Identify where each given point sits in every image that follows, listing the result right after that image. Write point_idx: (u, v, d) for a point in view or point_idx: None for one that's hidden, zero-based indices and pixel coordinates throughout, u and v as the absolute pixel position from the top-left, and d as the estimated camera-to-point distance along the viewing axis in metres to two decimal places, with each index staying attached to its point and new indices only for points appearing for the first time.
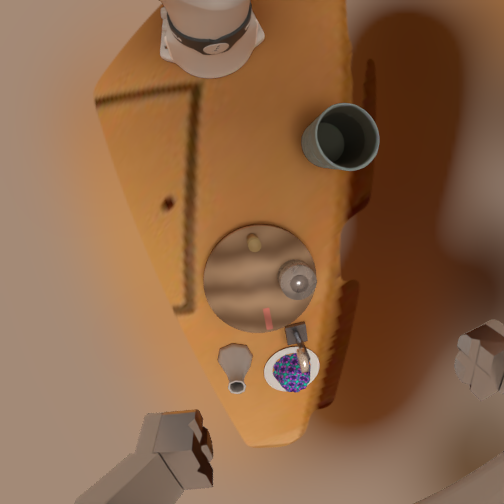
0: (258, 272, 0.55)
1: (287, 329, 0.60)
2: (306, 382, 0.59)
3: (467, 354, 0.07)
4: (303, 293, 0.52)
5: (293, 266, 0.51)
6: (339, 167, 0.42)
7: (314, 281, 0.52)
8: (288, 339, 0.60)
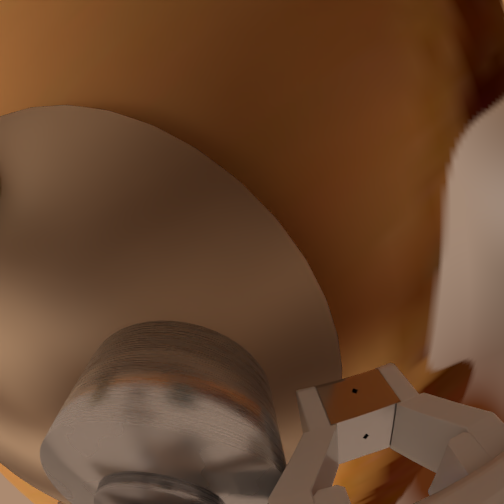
0: (36, 362, 0.08)
1: None
2: None
3: None
4: None
5: (89, 409, 0.05)
6: None
7: None
8: None
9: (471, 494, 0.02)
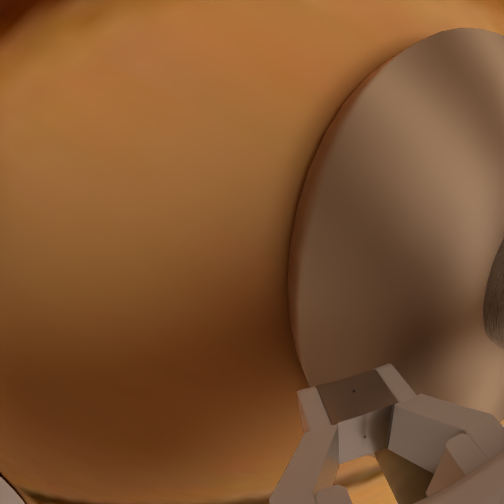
0: None
1: None
2: None
3: None
4: None
5: None
6: None
7: None
8: None
9: (471, 494, 0.02)
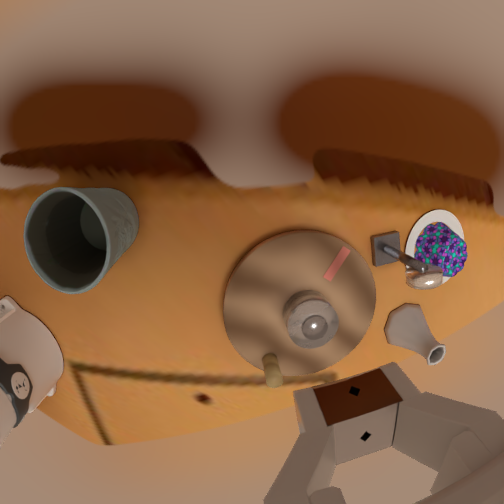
0: None
1: (378, 263, 0.40)
2: (459, 242, 0.36)
3: None
4: (321, 311, 0.34)
5: None
6: (107, 257, 0.26)
7: (297, 315, 0.34)
8: (392, 260, 0.40)
9: (471, 494, 0.02)
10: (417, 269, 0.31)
